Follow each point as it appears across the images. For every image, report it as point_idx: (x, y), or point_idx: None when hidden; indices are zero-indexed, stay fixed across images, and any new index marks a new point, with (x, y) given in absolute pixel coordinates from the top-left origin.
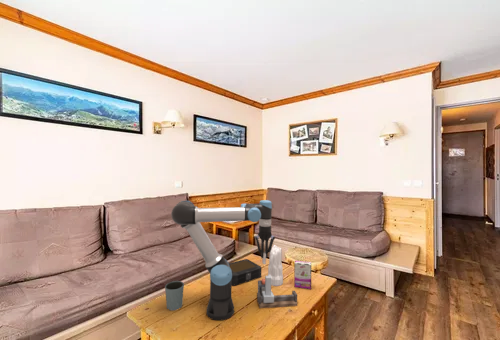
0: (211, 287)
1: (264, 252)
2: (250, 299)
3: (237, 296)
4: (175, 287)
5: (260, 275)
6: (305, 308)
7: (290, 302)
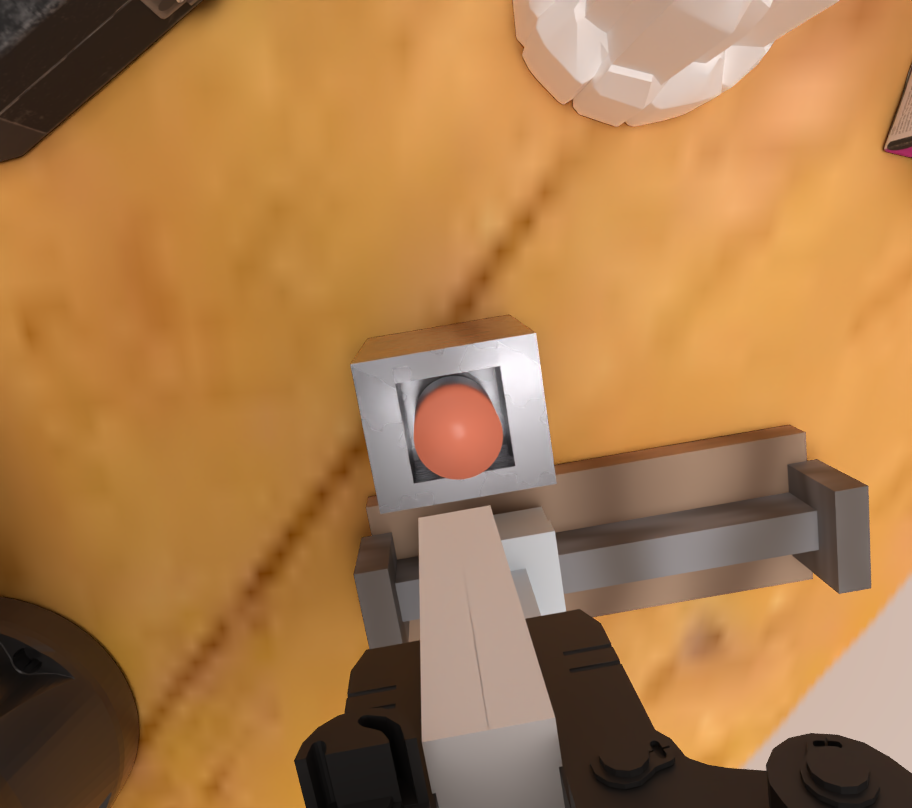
0: None
1: (519, 788)
2: (285, 484)
3: (117, 432)
4: None
5: None
6: (867, 600)
7: (741, 569)
